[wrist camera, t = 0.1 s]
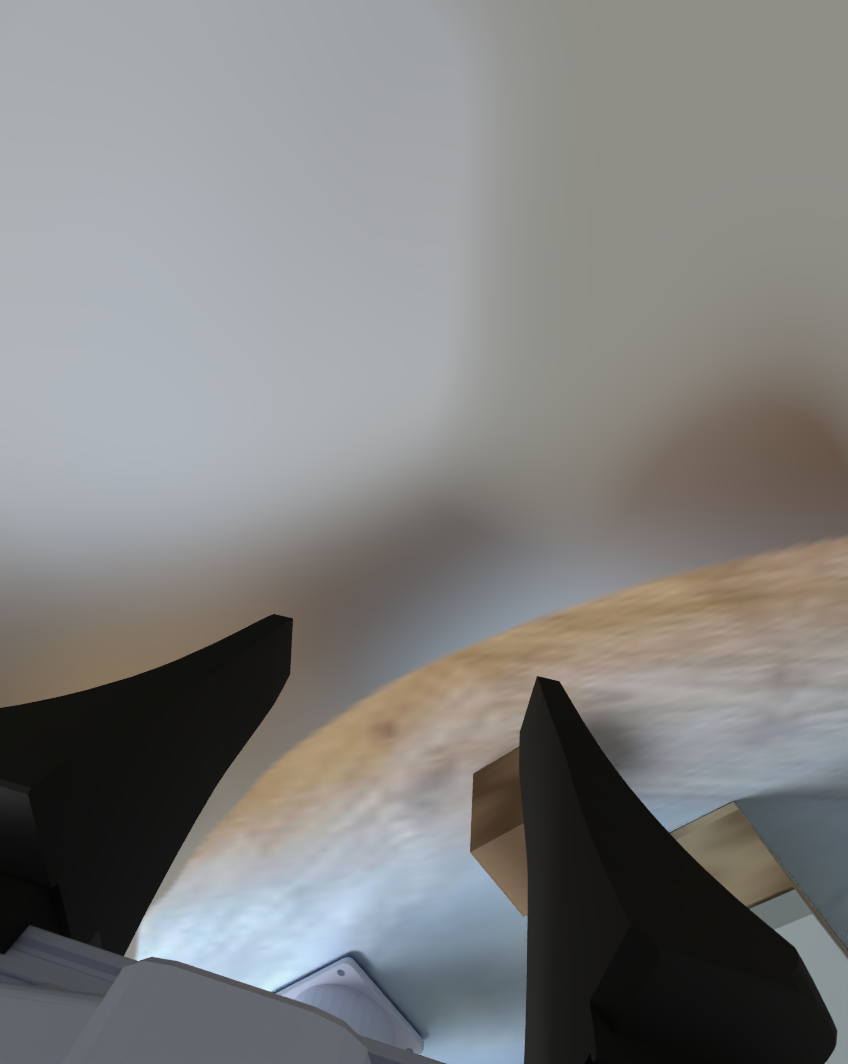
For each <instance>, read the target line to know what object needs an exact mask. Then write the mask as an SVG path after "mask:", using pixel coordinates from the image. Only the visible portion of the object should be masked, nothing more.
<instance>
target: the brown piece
mask: <svg viewBox="0 0 848 1064" xmlns="http://www.w3.org/2000/svg"><path fill="white" fill-rule="evenodd" d="M670 834H671V835H672V836H673V837H674V838H675V839H676V841H677V842H678V843H679V844H680V845H681V846H682V847H683V848H684V849H685V850H686V851H687V852H688V853H689V854H690V855H691V856H692V857H693V858H694V859H695V860H696V861H697V862H698V863H699V864H700V865H701V866H702V867H703V868H704V869H705V870H706V871H708V872H709V873H710V874H711V875H712V876H713V877H714V878H715V879H716V880H717V881H718V882H719V883H721V884H722V885H723V886H724V887H725V888H726V889H727V890H728V891H729V892H730V893H731V894H732V895H734V896H735V897H736V898H737V899H738V900H739V901H740V902H741V903H743V904H744V905H745V906H746V907H747V908H749V909H751V908H753V907H755V906H757V905H760V904H762V903H764V902H767V901H769V900H771V899H774V898H776V897H778V896H781V895H783V894H785V893H788V892H790V891H792V890H796V891H797V893H798V894H799V895H800V896H801V898H802V899H803V900H804V902H805V903H806V904H807V905H808V907H809V908H810V909H811V911H812V912H813V913H814V914H815V916H816V917H817V918H818V920H819V921H820V922H821V924H822V925H823V926H824V927H825V929H826V930H827V931H828V933H829V934H830V935H831V936H832V938H833V939H834V940H835V942H836V943H837V944H838V946H839V947H840V948H841V949H842V951H843V952H844V953H845V955H846V956H847V957H848V949H847V948H846V947H845V946H844V944H843V943H842V942H841V940H840V939H839V938H838V937H837V935H836V934H835V933H834V931H833V930H832V929H831V927H830V926H829V925H828V924H827V922H826V921H825V920H824V918H823V917H822V916H821V915H820V913H819V912H818V911H817V909H816V908H815V907H814V905H813V904H812V903H811V902H810V900H809V899H808V898H807V896H806V895H805V894H804V892H803V891H802V890H801V889H800V887H799V886H798V885H797V883H796V882H795V881H794V880H793V878H792V877H791V876H790V874H789V873H788V872H787V870H786V869H785V868H784V867H783V865H782V864H781V863H780V861H779V860H778V859H777V857H776V856H775V855H774V854H773V852H772V851H771V850H770V848H769V847H768V846H767V845H766V843H765V842H764V841H763V839H762V838H761V837H760V835H759V834H758V833H757V832H756V830H755V829H754V828H753V826H752V825H751V824H750V823H749V821H748V820H747V819H746V817H745V816H744V815H743V813H742V812H741V811H740V810H739V808H738V807H737V806H736V804H735V803H734V802H732V803H730V804H728V805H726V806H723V807H721V808H719V809H717V810H715V811H713V812H711V813H709V814H707V815H705V816H703V817H701V818H699V819H697V820H695V821H693V822H691V823H689V824H687V825H685V826H683V827H681V828H679V829H677V830H675V831H673V832H671V833H670Z"/></svg>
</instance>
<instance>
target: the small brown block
mask: <svg viewBox="0 0 848 1064" xmlns="http://www.w3.org/2000/svg"><path fill="white" fill-rule="evenodd" d="M470 853H471V854H472V855H473V856H474V857H475V859H476V860H477V861H478V862H479V863H480V865H481V866H482V867H483V868H484V870H485V871H486V872H487V873H488V874H489V876H490V877H491V878H492V879H493V880H494V882H495V883H496V884H497V885H498V886H499V888H500V889H501V890H502V891H503V892H504V894H505V895H506V896H507V897H508V899H509V900H510V901H511V902H512V903H513V905H514V906H515V907H516V908H517V909H518V911H519V912H520V913H521V914H522V915H523V916H525V915H528V872H527V854H526V843H525V832H524V821H523V810H522V799H521V787H520V775H519V747H518V748H516V749H515V750H513V751H511V752H509V753H508V754H506V755H504V756H503V757H501V758H499V759H498V760H496V761H494V762H493V763H491V764H489V765H487V766H486V767H484V768H482V769H481V770H479V771H477V772H476V773H474V774H473V795H472V820H471V844H470Z"/></svg>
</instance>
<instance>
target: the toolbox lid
mask: <svg viewBox="0 0 848 1064" xmlns="http://www.w3.org/2000/svg"><path fill="white" fill-rule="evenodd" d="M750 910H751V911H752V912H753V913H755V914H756V915H757V916H758V917H759V918H761V919H762V920H763V921H764V922H765V923H767V924H768V925H769V926H770V927H771V928H772V929H774V930H775V931H776V932H777V933H778V934H780V935H781V936H782V937H783V938H784V939H786V940H787V941H788V942H789V943H790V944H792V945H793V946H794V947H795V948H796V950H797V952H798V953H799V955H800V957H801V958H802V960H803V962H804V964H805V966H806V968H807V969H808V971H809V973H810V975H811V977H812V979H813V981H814V983H815V985H816V987H817V989H818V991H819V993H820V995H821V997H822V999H823V1001H824V1003H825V1005H826V1007H827V1009H828V1011H829V1013H830V1015H831V1017H832V1019H833V1022H834V1024H835V1026H836V1028H837V1043H836V1047H835V1050H834V1051H833V1053H832V1054H831V1056H830V1057H829V1059H828V1060H827V1062H826V1063H825V1064H848V957H847V956H846V955H845V953H844V952H843V951H842V949H841V948H840V947H839V946H838V944H837V943H836V942H835V940H834V939H833V938H832V936H831V935H830V934H829V933H828V931H827V930H826V929H825V927H824V926H823V925H822V924H821V922H820V921H819V920H818V918H817V917H816V916H815V914H814V913H813V912H812V911H811V909H810V908H809V907H808V905H807V904H806V903H805V902H804V900H803V899H802V898H801V896H800V895H799V894H798V893H797V891H796V890H792V891H790V892H788V893H785V894H783V895H781V896H778V897H776V898H774V899H771V900H769V901H767V902H764V903H762V904H760V905H757V906H755V907H753V908H751V909H750Z"/></svg>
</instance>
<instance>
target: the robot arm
mask: <svg viewBox="0 0 848 1064" xmlns="http://www.w3.org/2000/svg"><path fill="white" fill-rule="evenodd" d="M292 627H293V619H292V618H288V617H284V616H280V615H276V614H273V615H270V616H268V617H266V618H264V619H262V620H260V621H258V622H256V623H254V624H252V625H250V626H248V627H246V628H244V629H242V630H240V631H238V632H236V633H234V634H232V635H230V636H228V637H226V638H224V639H222V640H220V641H218V642H216V643H214V644H212V645H210V646H208V647H205V648H203V649H201V650H199V651H196V652H194V653H192V654H190V655H187V656H185V657H183V658H181V659H178V660H176V661H174V662H171V663H168V664H166V665H163V666H161V667H158V668H155V669H153V670H150V671H147V672H144V673H141V674H138V675H136V676H133V677H130V678H126V679H123V680H119V681H116V682H113V683H109V684H106V685H102V686H99V687H96V688H92V689H89V690H85V691H81V692H77V693H73V694H69V695H65V696H60V697H56V698H51V699H46V700H42V701H37V702H32V703H27V704H22V705H16V706H10V707H4V708H0V1064H445V1063H442V1062H439V1061H436V1060H433V1059H430V1058H427V1057H424V1056H421V1055H418V1054H420V1053H421V1052H422V1051H423V1046H424V1041H423V1040H422V1038H421V1037H420V1036H419V1035H418V1033H417V1032H416V1031H415V1030H414V1029H413V1028H412V1026H411V1025H410V1024H409V1023H408V1022H407V1021H406V1020H405V1018H404V1017H403V1016H402V1015H401V1014H400V1013H399V1011H398V1010H397V1009H396V1008H395V1007H394V1006H393V1005H392V1003H391V1002H390V1001H389V1000H388V999H387V998H386V996H385V995H384V994H383V993H382V992H381V991H380V990H379V988H378V987H377V986H376V985H375V984H374V983H373V981H372V980H371V979H370V978H369V977H368V976H367V975H366V973H365V972H364V971H363V970H362V969H361V968H360V966H359V965H358V964H357V963H356V962H355V961H354V960H353V959H352V958H350V957H345V958H343V959H341V960H339V961H337V962H335V963H333V964H331V965H329V966H327V967H325V968H323V969H322V970H320V971H318V972H316V973H314V974H312V975H310V976H308V977H306V978H304V979H302V980H300V981H298V982H296V983H295V984H293V985H291V986H289V987H287V988H285V989H283V990H281V991H279V992H277V993H272V992H269V991H266V990H263V989H260V988H257V987H254V986H251V985H248V984H245V983H242V982H239V981H236V980H233V979H230V978H227V977H224V976H221V975H218V974H215V973H212V972H209V971H206V970H203V969H200V968H197V967H194V966H191V965H188V964H184V963H181V962H178V961H173V960H167V959H161V958H155V957H150V958H147V959H144V960H140V961H136V960H133V959H130V958H127V957H124V954H125V952H126V951H127V949H128V947H129V945H130V943H131V941H132V939H133V937H134V935H135V933H136V931H137V929H138V927H139V925H140V923H141V921H142V919H143V917H144V915H145V913H146V911H147V909H148V907H149V905H150V903H151V902H152V900H153V898H154V896H155V894H156V892H157V890H158V888H159V887H160V885H161V883H162V881H163V879H164V877H165V875H166V873H167V872H168V870H169V868H170V866H171V864H172V862H173V860H174V859H175V857H176V855H177V853H178V851H179V850H180V848H181V846H182V844H183V842H184V841H185V839H186V837H187V835H188V833H189V832H190V830H191V828H192V826H193V825H194V823H195V821H196V819H197V818H198V816H199V814H200V813H201V811H202V809H203V807H204V806H205V804H206V802H207V800H208V799H209V797H210V796H211V794H212V792H213V790H214V789H215V787H216V786H217V784H218V783H219V781H220V780H221V778H222V777H223V775H224V774H225V772H226V771H227V769H228V768H229V766H230V765H231V764H232V762H233V761H234V759H235V758H236V756H237V755H238V754H239V752H240V751H241V750H242V748H243V747H244V746H245V744H246V743H247V741H248V740H249V739H250V737H251V736H252V734H253V733H254V732H255V730H256V729H257V728H258V726H259V725H260V723H261V722H262V721H263V719H264V718H265V716H266V715H267V713H268V712H269V711H270V709H271V708H272V706H273V705H274V703H275V701H276V700H277V698H278V696H279V694H280V692H281V691H282V689H283V687H284V685H285V683H286V681H287V679H288V677H289V675H290V665H291V645H292ZM519 775H520V787H521V799H522V810H523V821H524V832H525V843H526V854H527V872H528V932H527V990H526V1029H525V1055H524V1064H825V1063H826V1062H827V1060H828V1059H829V1057H830V1056H831V1054H832V1053H833V1051H834V1050H835V1047H836V1043H837V1028H836V1026H835V1024H834V1022H833V1019H832V1017H831V1015H830V1013H829V1011H828V1009H827V1007H826V1005H825V1003H824V1001H823V999H822V997H821V995H820V993H819V991H818V989H817V987H816V985H815V983H814V981H813V979H812V977H811V975H810V973H809V971H808V969H807V968H806V966H805V964H804V962H803V960H802V958H801V957H800V955H799V953H798V952H797V950H796V948H795V947H794V946H793V945H792V944H790V943H789V942H788V941H787V940H786V939H784V938H783V937H782V936H781V935H780V934H778V933H777V932H776V931H775V930H774V929H772V928H771V927H770V926H769V925H768V924H767V923H765V922H764V921H763V920H762V919H761V918H759V917H758V916H757V915H756V914H755V913H753V912H752V911H751V910H750V909H749V908H747V907H746V906H745V905H744V904H743V903H741V902H740V901H739V900H738V899H737V898H736V897H735V896H734V895H732V894H731V893H730V892H729V891H728V890H727V889H726V888H725V887H724V886H723V885H722V884H721V883H719V882H718V881H717V880H716V879H715V878H714V877H713V876H712V875H711V874H710V873H709V872H708V871H706V870H705V869H704V868H703V867H702V866H701V865H700V864H699V863H698V862H697V861H696V860H695V859H694V858H693V857H692V856H691V855H690V854H689V853H688V852H687V851H686V850H685V849H684V848H683V847H682V846H681V845H680V844H679V843H678V842H677V841H676V839H675V838H674V837H673V836H672V835H671V834H670V833H669V832H668V831H667V830H666V829H665V828H664V827H663V826H662V825H661V824H660V823H659V821H658V820H657V819H656V818H655V817H654V816H653V815H652V814H651V813H650V811H649V810H648V809H647V808H646V807H645V805H644V804H643V803H642V802H641V801H640V799H639V798H638V797H637V796H636V795H635V793H634V792H633V791H632V790H631V789H630V787H629V786H628V785H627V784H626V782H625V781H624V780H623V779H622V777H621V776H620V775H619V773H618V772H617V771H616V769H615V768H614V766H613V765H612V764H611V762H610V761H609V760H608V758H607V757H606V755H605V754H604V753H603V751H602V750H601V748H600V747H599V745H598V744H597V742H596V740H595V739H594V737H593V736H592V734H591V733H590V731H589V730H588V728H587V727H586V725H585V723H584V722H583V720H582V718H581V717H580V715H579V714H578V712H577V710H576V709H575V707H574V705H573V703H572V702H571V700H570V698H569V697H568V695H567V693H566V692H565V690H564V688H563V687H562V685H561V683H560V682H559V681H556V680H551V679H547V678H543V677H539V676H537V678H536V682H535V685H534V688H533V691H532V695H531V698H530V701H529V704H528V708H527V711H526V714H525V717H524V721H523V724H522V727H521V730H520V745H519Z"/></svg>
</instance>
